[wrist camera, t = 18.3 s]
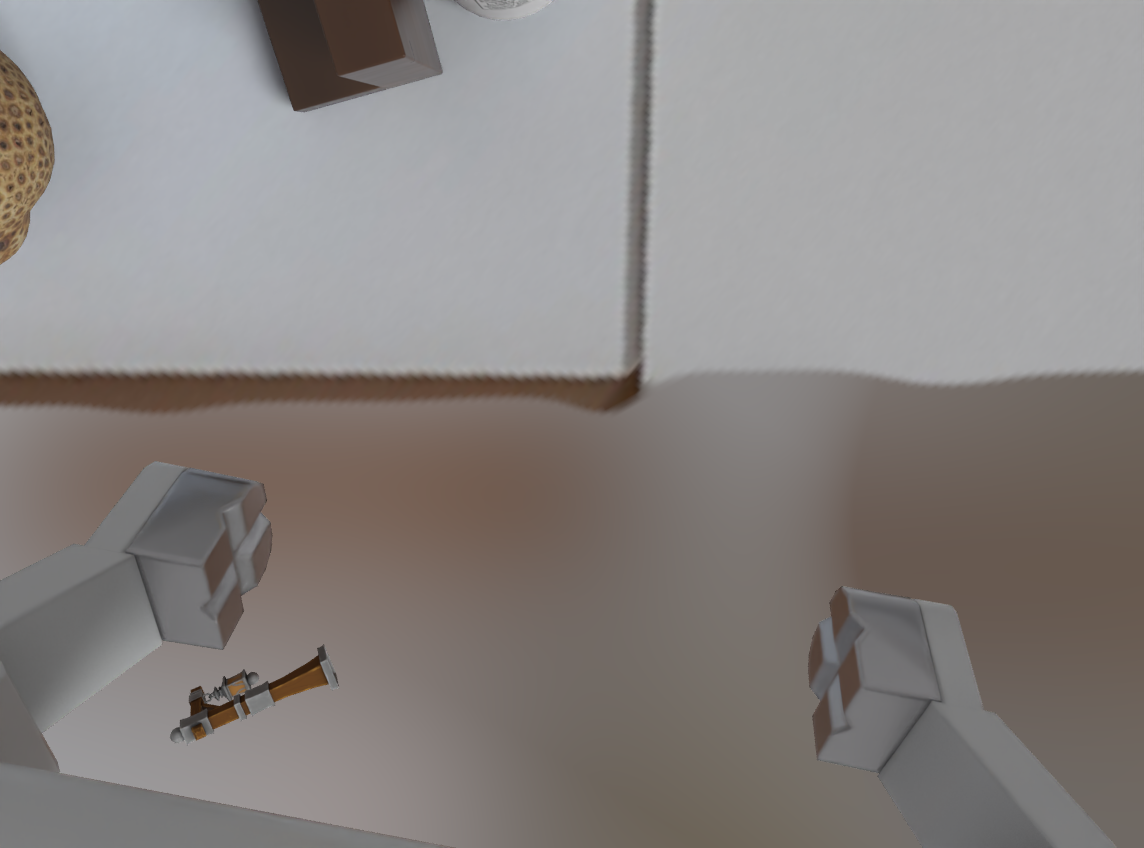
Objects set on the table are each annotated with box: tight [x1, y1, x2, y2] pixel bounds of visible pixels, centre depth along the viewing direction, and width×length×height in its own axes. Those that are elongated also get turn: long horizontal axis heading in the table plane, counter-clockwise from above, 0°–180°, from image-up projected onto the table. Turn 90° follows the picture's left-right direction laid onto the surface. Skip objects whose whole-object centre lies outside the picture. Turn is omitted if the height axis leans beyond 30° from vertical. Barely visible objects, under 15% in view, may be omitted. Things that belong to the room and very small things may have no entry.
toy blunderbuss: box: [170, 644, 339, 745], centre depth 43 cm, size 2×8×4 cm, turn 105°
